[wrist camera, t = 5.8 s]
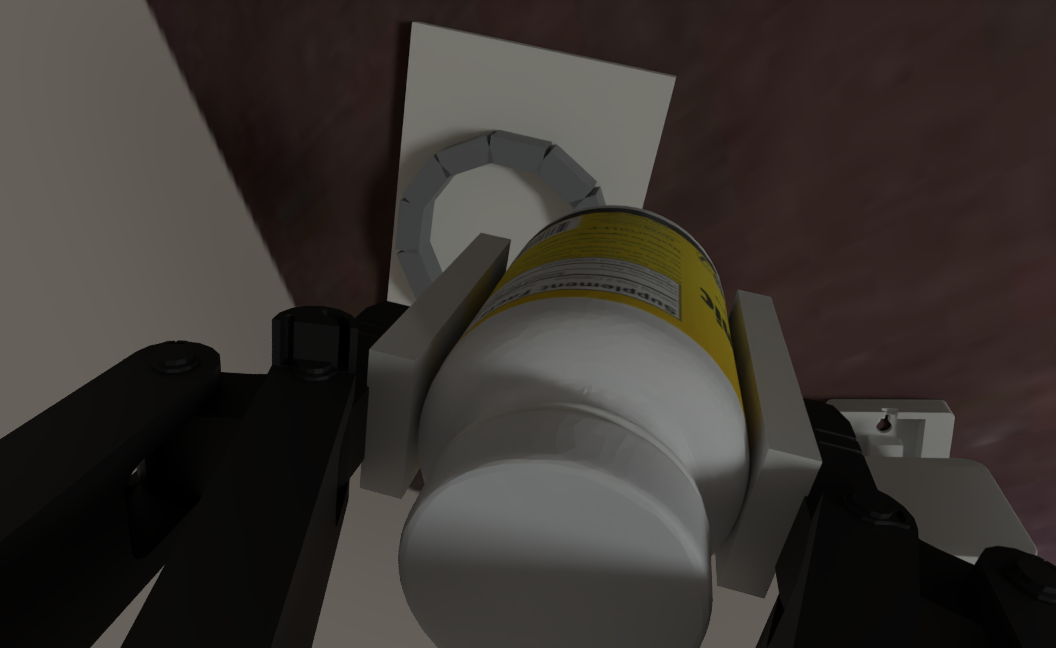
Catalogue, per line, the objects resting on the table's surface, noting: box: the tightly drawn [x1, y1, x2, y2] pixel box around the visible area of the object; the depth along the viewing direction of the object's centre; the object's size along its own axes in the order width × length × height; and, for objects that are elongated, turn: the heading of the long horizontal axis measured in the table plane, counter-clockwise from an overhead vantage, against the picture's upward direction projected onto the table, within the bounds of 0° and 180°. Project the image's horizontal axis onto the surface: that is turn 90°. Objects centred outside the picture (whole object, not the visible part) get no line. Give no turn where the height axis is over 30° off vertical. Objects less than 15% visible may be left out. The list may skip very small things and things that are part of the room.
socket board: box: [387, 21, 676, 306], centre depth 34 cm, size 18×12×2 cm, turn 170°
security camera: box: [826, 399, 1037, 565], centre depth 31 cm, size 6×7×10 cm
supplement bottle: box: [398, 205, 750, 648], centre depth 13 cm, size 5×5×10 cm
